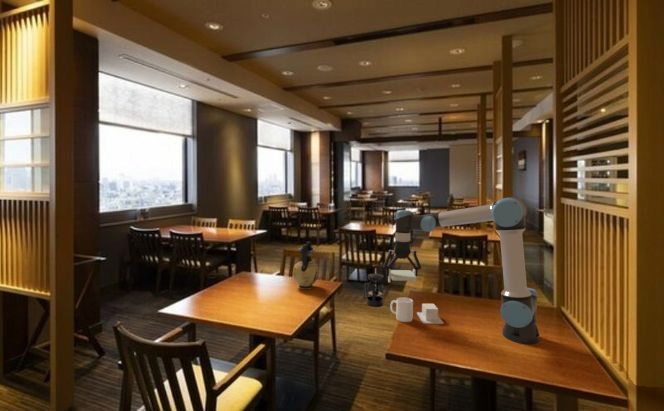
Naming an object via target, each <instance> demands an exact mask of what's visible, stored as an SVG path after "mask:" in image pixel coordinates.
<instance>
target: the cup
mask: <svg viewBox="0 0 664 411" xmlns="http://www.w3.org/2000/svg"><path fill="white" fill-rule="evenodd" d="M393 304H396V306H395V308H396V310H395V311H394V310H393ZM413 307H414V300H413V299H412V298H410V297H405V296H404V297H396V300H395V299H394V300H391V302H390V304H389V308H390V313H392V314H393V315H395V318H396V320H397V321H398V322H401V323H410V322H412V321H413V314H414V308H413Z"/></svg>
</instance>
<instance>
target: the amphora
mask: <svg viewBox="0 0 664 411" xmlns="http://www.w3.org/2000/svg"><path fill="white" fill-rule="evenodd" d="M297 250H298V251H299V252H300V254H301V259H300V260H299V261H298V262H297V263H295V265H294V266H293V271H292V273H293V277H294V280H295V282H296V283H297V284H298V289H300V290H311V289H313V288H314V286H313V285H314V284H315V283H316V282H317V279H318V278H319V274H320V268H319V265H318V263H316V262H314V261H313V260H312V255H313V253H314V251H316V248H315V247H313V246H312V242H311V241H310V240H309V241H306V243H304V244H303V245H302V247H299V248H297Z"/></svg>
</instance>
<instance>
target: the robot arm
mask: <svg viewBox="0 0 664 411" xmlns="http://www.w3.org/2000/svg"><path fill="white" fill-rule="evenodd" d="M527 207H528V206H527V204H526V203H525V201H523V200H522V199H521V198H518V197H515V196H509V197H503V198H501V199H498V200H496V201H493V202H492V203H491V204H486V205H479V206H472V207H467V208H466V207H465V208H460V209H454V210H453V209H452V210H448V211H440V212H432V213H427V214H423V215H417V214H415V215H414V214H412V211H411V210H408V209H407V210H406V209H399V210H396V212H395V234H394V235H395V241H394V242H395V243H394V250H393V249H389V250H388V254H387V256H386V259H385V260H384V262H383V265H382V268H383V269H384V270H385V274H386V276H387V282H388V283H391V280H392V279H391V270H392V269H391V267H392V266H394V264H395V263H396V262H397V260H398V259H399V260H401V259H402V260H405V259H407V261H409V263H410V264H411V266H412V267H413V269H412V273H413V274H414V275H415V276H416V277H418V271H419V270H421V269H422V266H421V264H420V261H419V258H418V256H417V251H416V250H415V249H413V250H411V231H420V232H425V233H427V232H434V230H435V229H436V228H442V227H444V228H445V227H452V226H459V225H467V224H468V225H469V224H475V223H483V222H491V221H493V222H494V229H495V231H496V232H497V233H498V234H499V240H500V241H499V242H500V250H501V252H500V253H501V261H502V262H501V264H502V274H503V285H504V286H503V287H504V289H503V290H502V291H500V296H501V306H500V308H499V309H500V313H499V314H500V315H501V318H502V320H503V321H504V325H503V327H502V335H503V337H504V338H506V339H508V340H510V341H513V342H516V343H520V344H526V345H528V344H529V345H532V344H538V343H539V342H540V336H541V335H540V332H539V329H538V324H537V308H538V307H537V306H538V305H537V304H538V298H539V296H538V291H537V290H536V289H534V288H531V287H528V285H527V283H528V282H527V274H526V273H527V272H526V262H525V251H524V250H525V249H524V240H523V238H524V237H523V233H524V232H525V231H526V228H527V225H526V215H527V213H528V208H527ZM393 254H395V255H394V256H393V258H392V255H393ZM410 255H412V256H413V258H414V261H413V260H412V259H411V257H410ZM391 258H392V259H391ZM390 260H391V261H390ZM415 263H416V264H415ZM412 282H413V283H414V284H416V281H412Z"/></svg>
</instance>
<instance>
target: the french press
mask: <svg viewBox="0 0 664 411" xmlns="http://www.w3.org/2000/svg"><path fill="white" fill-rule="evenodd" d="M371 266H372V267H374V269H375V270H374V271H375V273H368V274H367V277H368V280H369V282H365V283H364V284H363V287H364V288H363V298H364V299H365V300H367V301H366V305H367V306H368V307H372V308H380V307H383V306H384V283H383V282H381V279H382V278H384V274H381V273H377V268H378V267H380V265H379V264H372V265H371ZM366 285H367V288H370V289H372V290H370V291H369V290H366ZM379 289H382V291H379ZM366 291H367V296H366Z"/></svg>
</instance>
